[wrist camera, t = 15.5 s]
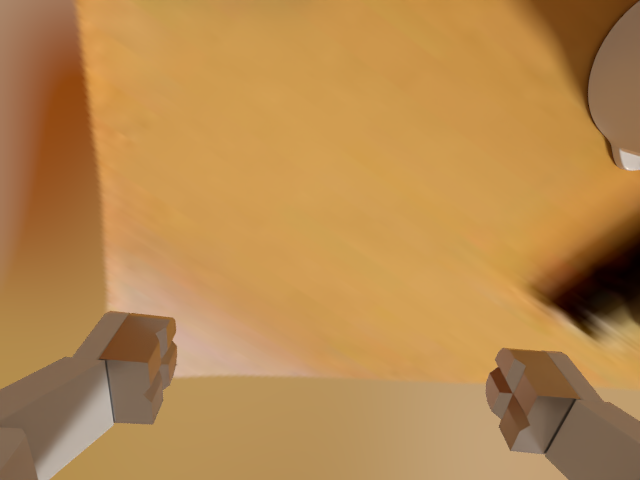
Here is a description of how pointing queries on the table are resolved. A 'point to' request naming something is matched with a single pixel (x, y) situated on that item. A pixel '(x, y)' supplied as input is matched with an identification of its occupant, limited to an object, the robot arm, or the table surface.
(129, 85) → the table surface
